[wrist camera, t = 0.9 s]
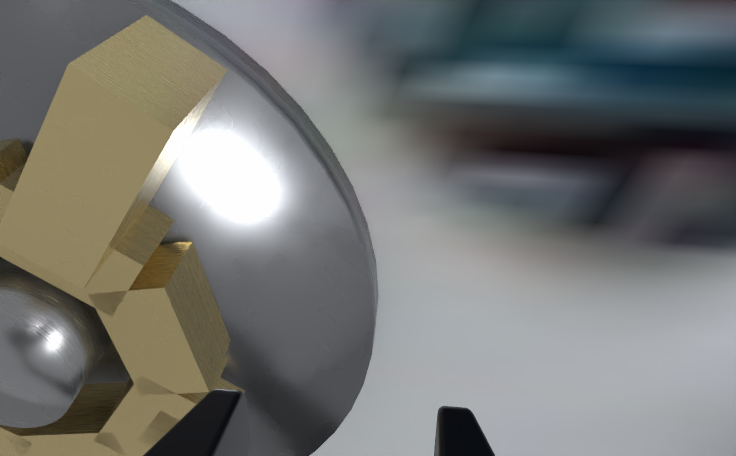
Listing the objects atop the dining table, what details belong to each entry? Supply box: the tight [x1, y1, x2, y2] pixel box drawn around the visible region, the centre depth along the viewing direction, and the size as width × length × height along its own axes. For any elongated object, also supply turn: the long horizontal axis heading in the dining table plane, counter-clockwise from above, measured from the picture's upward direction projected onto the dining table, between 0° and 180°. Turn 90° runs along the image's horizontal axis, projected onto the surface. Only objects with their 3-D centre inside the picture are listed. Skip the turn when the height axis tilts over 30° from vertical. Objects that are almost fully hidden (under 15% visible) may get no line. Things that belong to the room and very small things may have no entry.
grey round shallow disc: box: [0, 0, 378, 456], centre depth 21 cm, size 23×23×5 cm
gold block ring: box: [0, 15, 245, 456], centre depth 19 cm, size 19×15×4 cm
